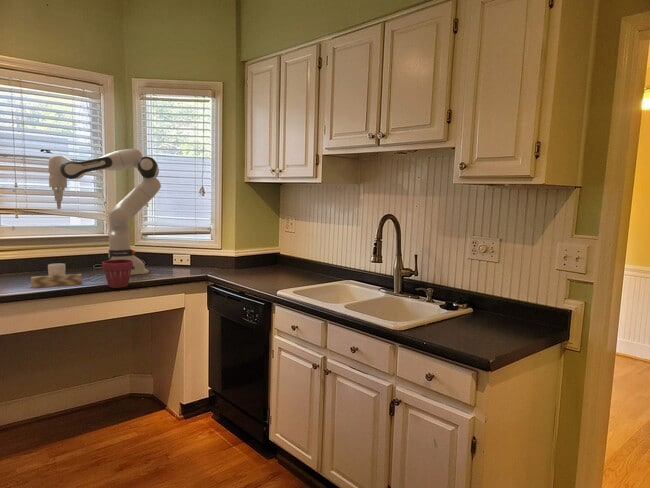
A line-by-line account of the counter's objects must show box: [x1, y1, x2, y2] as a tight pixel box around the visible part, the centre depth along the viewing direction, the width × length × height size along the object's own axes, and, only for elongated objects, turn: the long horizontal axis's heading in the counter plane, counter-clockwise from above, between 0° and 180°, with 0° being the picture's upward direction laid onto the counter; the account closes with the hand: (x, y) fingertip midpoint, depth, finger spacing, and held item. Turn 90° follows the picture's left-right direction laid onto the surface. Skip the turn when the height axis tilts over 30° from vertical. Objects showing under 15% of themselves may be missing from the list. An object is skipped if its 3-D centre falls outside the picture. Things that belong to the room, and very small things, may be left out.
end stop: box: [30, 273, 83, 289], centre depth 235 cm, size 22×5×5 cm, turn 120°
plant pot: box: [101, 259, 133, 289], centre depth 237 cm, size 14×14×13 cm
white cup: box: [47, 263, 66, 276], centre depth 239 cm, size 8×8×10 cm
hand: (59, 208), depth 264 cm, fingers closed
